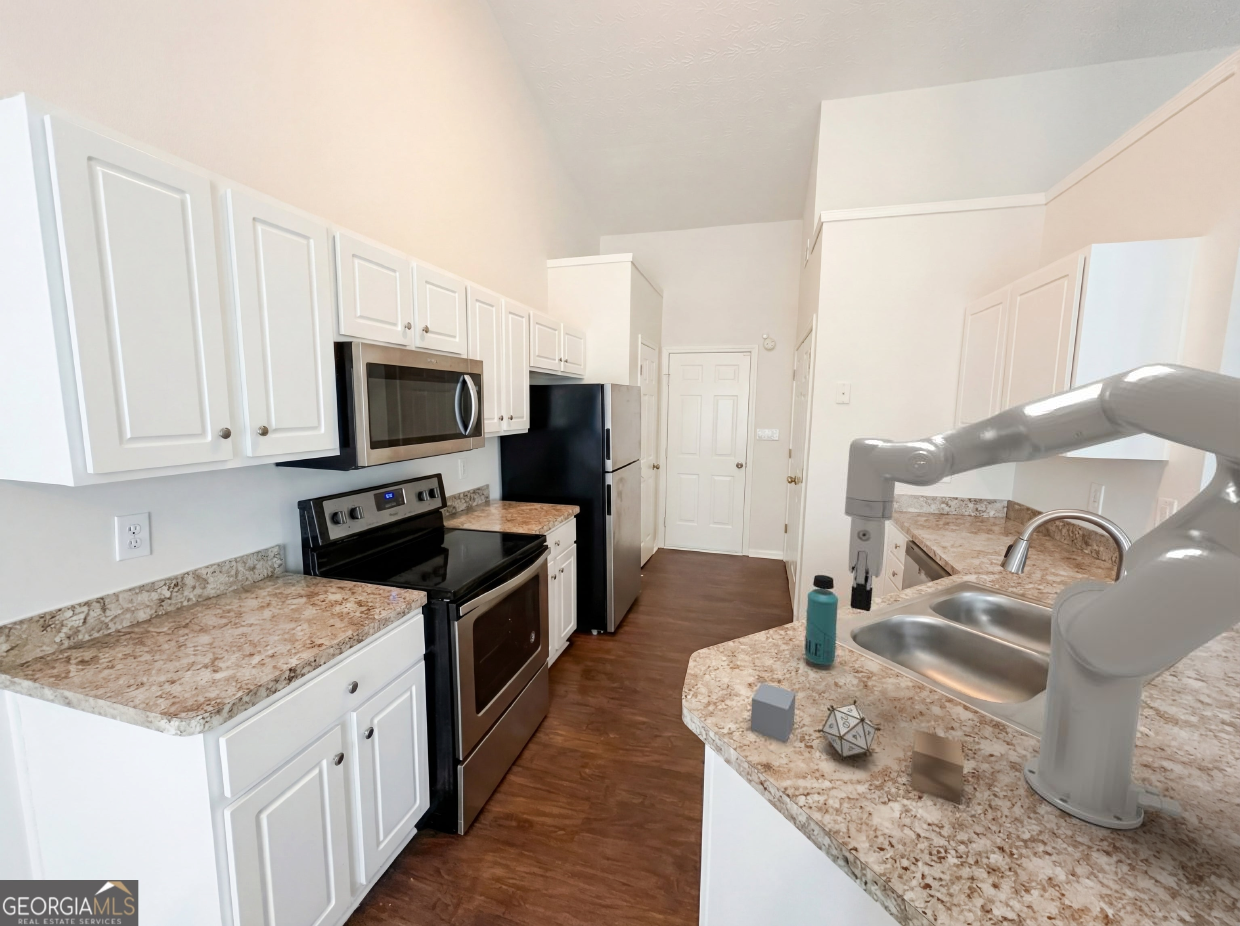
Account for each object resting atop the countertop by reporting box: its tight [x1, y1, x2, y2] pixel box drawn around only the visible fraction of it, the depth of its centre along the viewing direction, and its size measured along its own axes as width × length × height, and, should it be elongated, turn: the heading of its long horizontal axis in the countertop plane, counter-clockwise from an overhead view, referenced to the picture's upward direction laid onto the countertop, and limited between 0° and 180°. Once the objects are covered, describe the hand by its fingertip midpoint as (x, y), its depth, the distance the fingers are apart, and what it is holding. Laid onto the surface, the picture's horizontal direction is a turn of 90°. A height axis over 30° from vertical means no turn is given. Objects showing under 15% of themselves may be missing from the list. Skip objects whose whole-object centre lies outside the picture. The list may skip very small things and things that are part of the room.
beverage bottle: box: [803, 574, 839, 665], centre depth 106 cm, size 6×7×20 cm
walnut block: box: [910, 727, 965, 806], centre depth 72 cm, size 6×6×6 cm
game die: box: [816, 698, 882, 763], centre depth 78 cm, size 9×8×10 cm
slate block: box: [750, 682, 796, 744], centre depth 85 cm, size 6×6×6 cm
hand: (860, 608), depth 87 cm, fingers closed
